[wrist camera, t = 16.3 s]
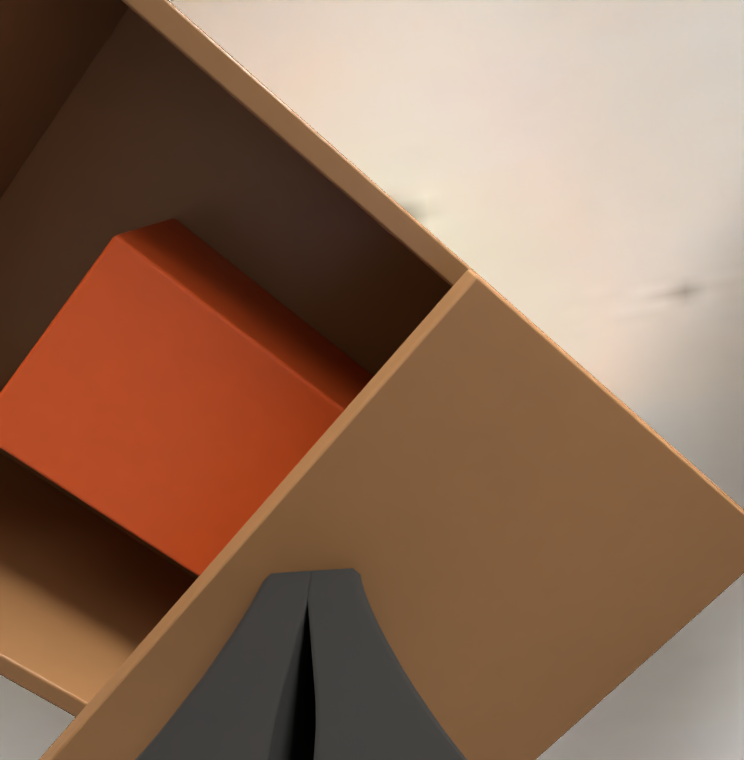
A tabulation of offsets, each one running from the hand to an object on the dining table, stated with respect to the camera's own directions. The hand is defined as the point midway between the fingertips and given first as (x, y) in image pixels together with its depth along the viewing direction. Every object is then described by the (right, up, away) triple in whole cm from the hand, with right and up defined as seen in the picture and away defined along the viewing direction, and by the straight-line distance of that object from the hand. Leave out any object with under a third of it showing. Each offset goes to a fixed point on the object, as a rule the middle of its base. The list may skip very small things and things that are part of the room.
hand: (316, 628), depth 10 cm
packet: (-2, +3, +6) cm, 7 cm away
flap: (+1, -1, +1) cm, 2 cm away
